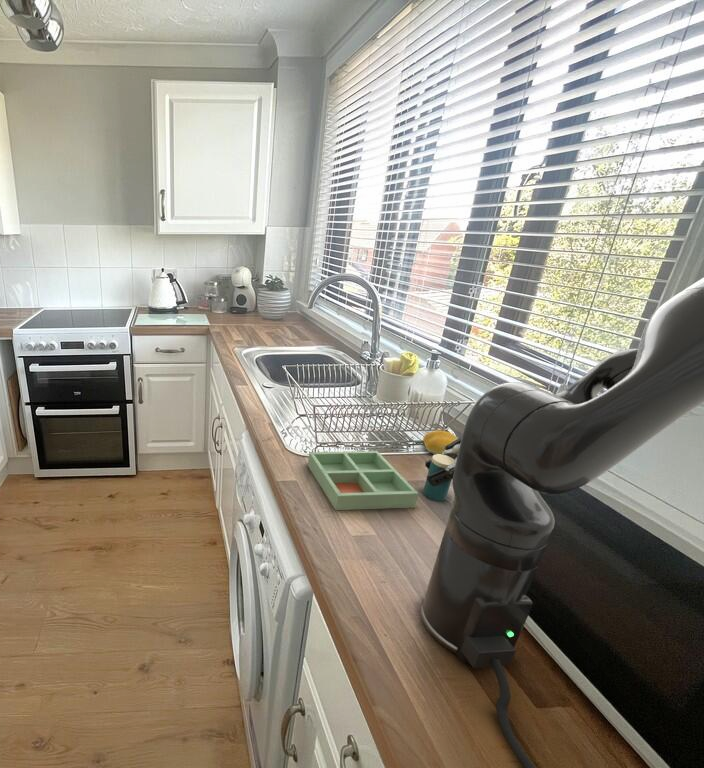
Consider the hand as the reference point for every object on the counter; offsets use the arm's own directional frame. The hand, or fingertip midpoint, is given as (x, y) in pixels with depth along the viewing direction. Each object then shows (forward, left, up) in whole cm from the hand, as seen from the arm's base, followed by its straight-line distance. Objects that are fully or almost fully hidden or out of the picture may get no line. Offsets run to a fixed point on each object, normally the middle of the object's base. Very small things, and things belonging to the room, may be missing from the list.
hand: (428, 474), depth 81 cm
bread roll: (+16, -15, -4) cm, 22 cm away
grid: (+3, +12, -4) cm, 13 cm away
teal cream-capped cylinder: (-1, -2, -4) cm, 5 cm away
